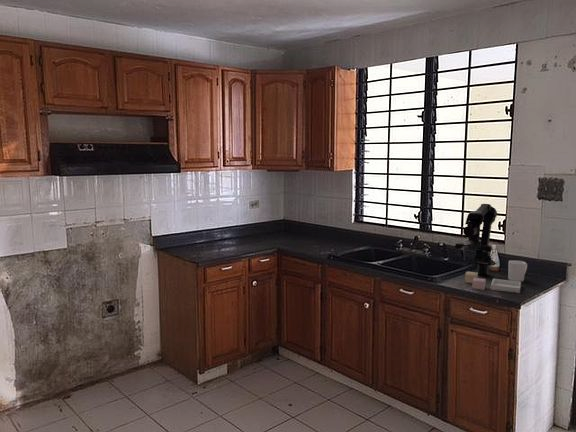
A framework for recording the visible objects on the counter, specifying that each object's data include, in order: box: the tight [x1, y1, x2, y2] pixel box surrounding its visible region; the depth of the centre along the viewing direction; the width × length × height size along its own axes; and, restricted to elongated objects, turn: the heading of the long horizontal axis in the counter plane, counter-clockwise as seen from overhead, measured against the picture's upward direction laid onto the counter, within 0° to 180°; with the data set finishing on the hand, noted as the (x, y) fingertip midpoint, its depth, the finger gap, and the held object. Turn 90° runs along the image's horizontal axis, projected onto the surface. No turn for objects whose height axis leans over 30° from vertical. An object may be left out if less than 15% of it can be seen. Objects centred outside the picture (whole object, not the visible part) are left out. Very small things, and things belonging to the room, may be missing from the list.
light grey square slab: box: [490, 278, 522, 294], centre depth 256 cm, size 14×14×2 cm
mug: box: [507, 259, 528, 283], centre depth 272 cm, size 11×9×10 cm
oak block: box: [464, 271, 479, 284], centre depth 268 cm, size 6×6×5 cm
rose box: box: [471, 277, 487, 291], centre depth 257 cm, size 6×6×4 cm
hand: (472, 262), depth 267 cm, fingers open, 9 cm apart
